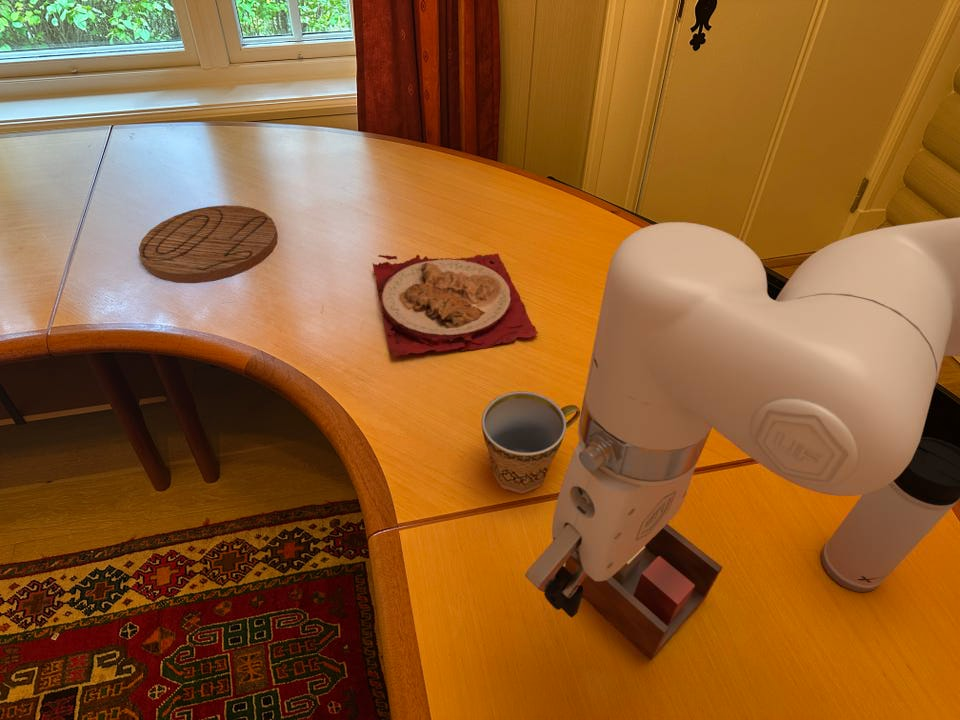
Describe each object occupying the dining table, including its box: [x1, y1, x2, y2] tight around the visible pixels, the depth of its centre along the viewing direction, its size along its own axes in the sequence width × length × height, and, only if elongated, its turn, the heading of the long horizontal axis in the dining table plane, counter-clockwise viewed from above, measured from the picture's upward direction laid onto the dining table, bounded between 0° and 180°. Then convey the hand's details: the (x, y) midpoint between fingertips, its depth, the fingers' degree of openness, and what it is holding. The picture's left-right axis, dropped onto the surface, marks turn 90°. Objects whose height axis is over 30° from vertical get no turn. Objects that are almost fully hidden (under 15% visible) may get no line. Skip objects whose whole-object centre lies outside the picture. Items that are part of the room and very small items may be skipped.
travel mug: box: [820, 436, 960, 593], centre depth 62 cm, size 6×7×20 cm
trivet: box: [138, 204, 279, 284], centre depth 117 cm, size 25×25×2 cm
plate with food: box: [371, 252, 539, 357], centre depth 103 cm, size 24×26×4 cm
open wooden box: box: [564, 523, 723, 661], centre depth 64 cm, size 12×10×7 cm
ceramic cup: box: [481, 390, 581, 495], centre depth 75 cm, size 13×10×10 cm
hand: (600, 562), depth 49 cm, fingers open, 9 cm apart
